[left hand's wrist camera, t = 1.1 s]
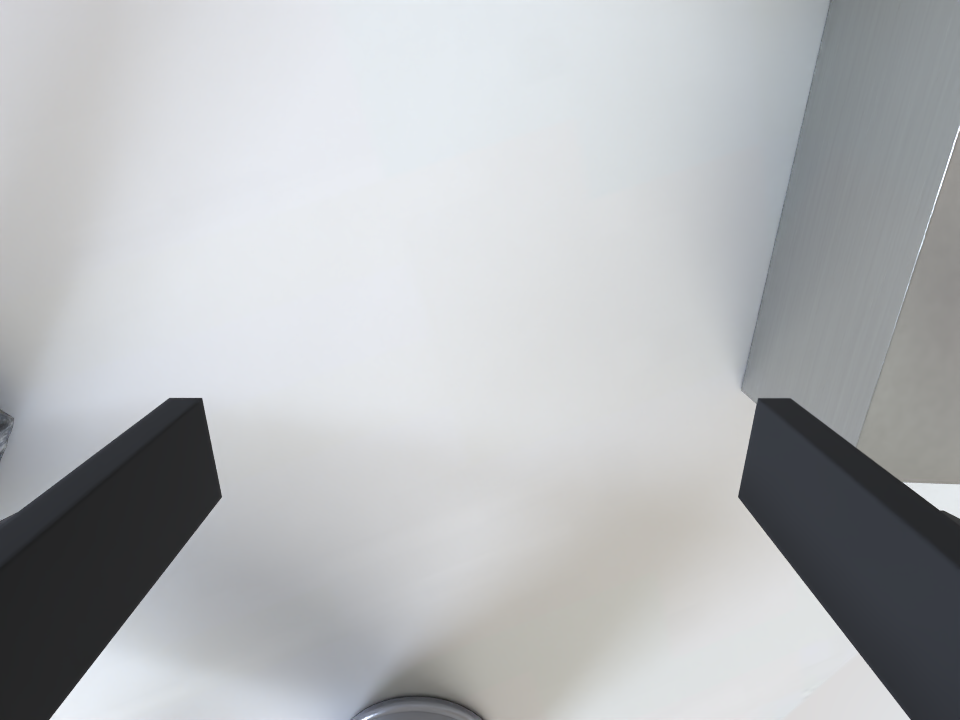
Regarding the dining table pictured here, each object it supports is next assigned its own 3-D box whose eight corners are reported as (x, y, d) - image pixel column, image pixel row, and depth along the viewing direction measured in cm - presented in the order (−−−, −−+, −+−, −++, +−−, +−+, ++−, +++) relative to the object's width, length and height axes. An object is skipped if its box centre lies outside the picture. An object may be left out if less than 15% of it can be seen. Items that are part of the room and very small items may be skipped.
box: (850, 394, 38) (997, 486, 27) (740, 390, 38) (845, 480, 27) (984, -39, 29) (1285, -161, 18) (841, -47, 29) (1057, -173, 18)
